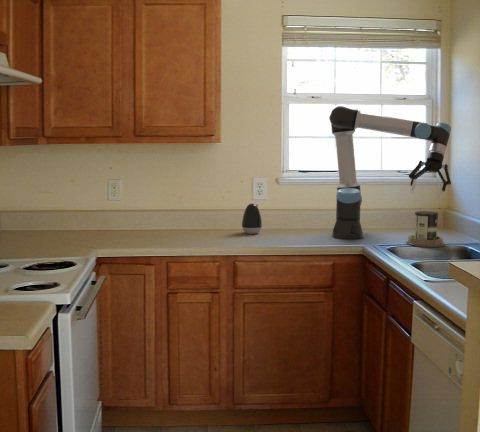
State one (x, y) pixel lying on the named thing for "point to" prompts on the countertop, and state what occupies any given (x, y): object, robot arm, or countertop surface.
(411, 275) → the countertop surface
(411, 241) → the collar
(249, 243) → the countertop surface
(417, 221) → the coffee can
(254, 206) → the black egg-shaped speaker
